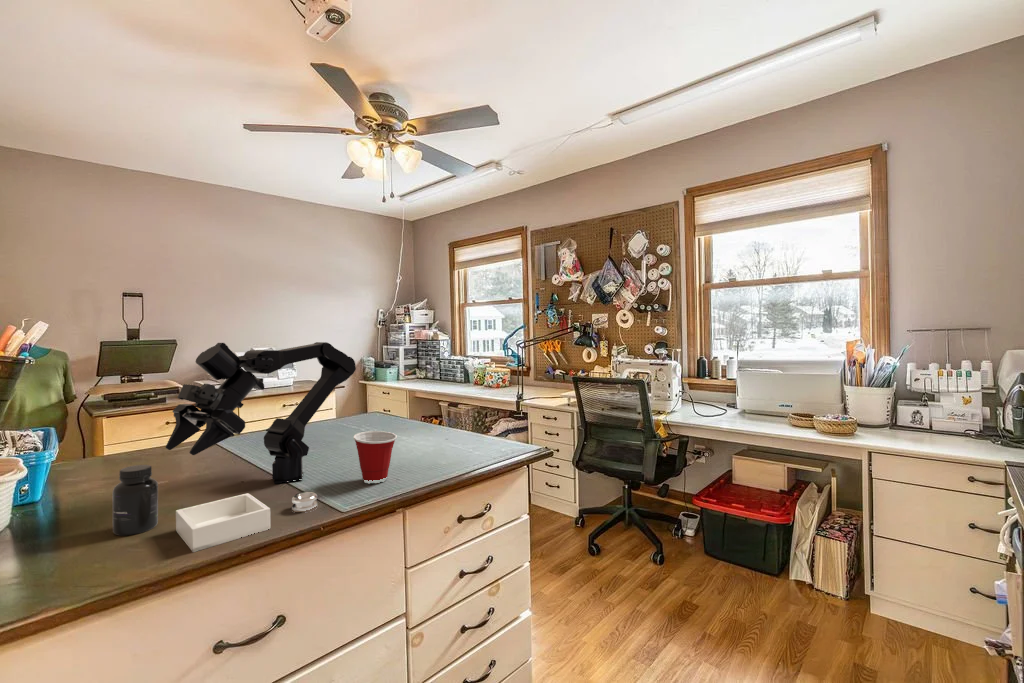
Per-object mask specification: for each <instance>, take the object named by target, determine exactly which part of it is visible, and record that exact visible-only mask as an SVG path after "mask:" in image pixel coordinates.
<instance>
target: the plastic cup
mask: <svg viewBox="0 0 1024 683" xmlns="http://www.w3.org/2000/svg"><path fill="white" fill-rule="evenodd" d="M397 438H398V435H397V434H395V433H393V432H389V431H383V430H382V431H381V430H369V431H368V430H367V431H362V432H357V433H355V434H354V435H353V440H354V441H355V446H356V450H357V455H358V461H359V466H360V467H359V468H360V471H361V476H362V480H363V479H364V480H368V481H369V480H372V481H373V480H380V479H383V478H386V477H387V478H388V475H389V469H390V464H391V457H392V452H393V448H394V444H395V442H396V440H397ZM364 480H363V481H364Z"/></svg>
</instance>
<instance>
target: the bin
mask: <svg viewBox="0 0 1024 683" xmlns="http://www.w3.org/2000/svg"><path fill="white" fill-rule="evenodd" d="M271 528H272V526H271V507H269V506H267V505H266V504H264V503H263V502H262V501H260V500H259V499H257V498H256V497H254V496H253V495H252V494H250V493H243V494H239V495H235V496H230V497H225V498H222V499H218V500H214V501H210V502H205V503H201V504H197V505H193V506H188V507H185V508H180V509H177V510H175V532H176V533H177V534H178V535H179V537H180V538H181V539H182V540H183V542H185V544H186V545H187V546H188V548H189V549H190V550H191V553H195V552H199V551H202V550H205V549H208V548H212V547H216V546H219V545H223V544H225V543H228V542H232V541H235V540H239V539H242V538H245V537H249V536H252V535H255V534H258V532H259V533H261V532H265V531H268V529H269V530H271ZM254 533H255V534H254ZM251 534H252V535H251ZM248 535H249V536H248ZM241 537H242V538H241Z"/></svg>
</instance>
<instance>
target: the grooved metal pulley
mask: <svg viewBox="0 0 1024 683" xmlns="http://www.w3.org/2000/svg"><path fill="white" fill-rule="evenodd" d="M317 499H318V494H317V493H316V492H311V491H306V492H300V493H297V494H295V495H294V496H292V498H291V503H292V505H291V511H292V510H294V511H306V510H310V509H312V508H314V507H316V506H317V507H318V501H317Z"/></svg>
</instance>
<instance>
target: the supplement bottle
mask: <svg viewBox="0 0 1024 683" xmlns="http://www.w3.org/2000/svg"><path fill="white" fill-rule="evenodd" d="M152 469H153V468H152V465H150V464H136V465H131V466H126V467H123V468H121V469H119V477H118V480H119V481H120V482H119V483H117V484H116V485H115V486H114V487H113V489H112V532H113V534H114V535H116V536H121V537H122V536H123V537H125V536H127V537H128V536H133V535H139V534H142V533H145V532H148V531H150V530H152V529H154V528H155V527H156V526H157V525H158V522H159V483H158V480H156V479H155V478H152V475H153V471H152Z"/></svg>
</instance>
